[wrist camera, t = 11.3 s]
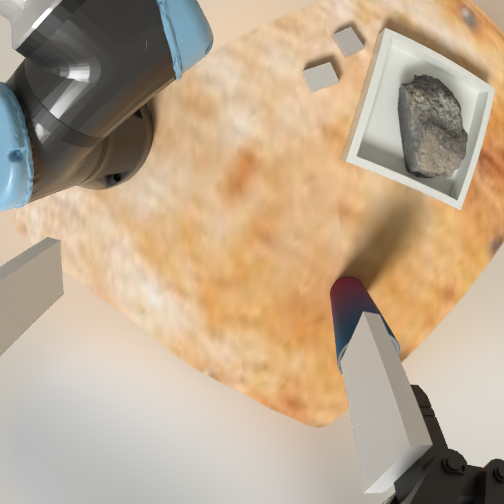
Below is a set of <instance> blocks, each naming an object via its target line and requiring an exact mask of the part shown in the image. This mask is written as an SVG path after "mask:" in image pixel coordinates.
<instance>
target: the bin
mask: <svg viewBox="0 0 504 504" xmlns="http://www.w3.org/2000/svg"><path fill="white" fill-rule="evenodd" d="M423 74H424V75H425V74H426V75H427V76H432V77H433V78H437V79H439V80H441V82H442V83H443V84H444V85H446V86H447V87H448V89H449V90H450V91H451V92H452V93H453V95H454V97H455V98H456V99H457V101H458V102H459V104H460V107H461V115H462V120H463V125H462V126H463V128H464V130H465V131H466V132H467V133H468V141H467V145H466V155H465V158H464V159H463V161H462V162H461V165H460V167H459V169H456V170H455V171H454V172H453V174H452V176H451V177H450V178H444V177H442V176H437V177H436V178H421V177H416V176H415V175H414V174H412V173H408V171H407V168H406V166H405V163H406V162H405V159H404V153H403V147H402V141H401V134H400V128H399V126H400V125H399V118H398V111H397V109H398V101H399V100H398V98H399V88H400V87H401V84H405V83H409V82H411V81H412V80H413V79H414V75H417V76H421V75H423ZM494 92H495V89H494V88H493V87H492V86H490V85H489V84H487V83H486V82H484V81H483V80H481V79H480V78H478V77H477V76H475V75H474V74H472V73H470V72H469V71H467V70H466V69H464V68H462V67H461V66H459V65H458V64H456V63H454V62H452V61H451V60H449V59H447V58H446V57H444V56H442V55H440V54H438V53H437V52H435V51H433V50H431V49H429V48H427V47H425V46H423V45H421V44H419V43H417V42H415V41H413V40H411V39H409V38H407V37H405V36H403V35H401V34H399V33H396V32H394V31H392V30H390V29H387V28H385V29H384V30H383V31H382V32H381V33H380V34H379V35H378V37H377V40H376V44H375V48H374V51H373V55H372V58H371V62H370V65H369V69H368V72H367V76H366V79H365V83H364V86H363V90H362V93H361V96H360V100H359V103H358V106H357V109H356V113H355V116H354V119H353V122H352V125H351V129H350V132H349V135H348V138H347V141H346V144H345V147H344V150H343V153H342V156H341V160H344V161H346V162H349V163H352V164H354V165H357V166H360V167H362V168H365V169H367V170H370V171H372V172H375V173H377V174H380V175H382V176H385V177H387V178H390V179H392V180H395V181H397V182H399V183H402V184H404V185H406V186H409V187H411V188H413V189H416V190H418V191H420V192H422V193H425V194H427V195H429V196H431V197H433V198H436V199H438V200H440V201H442V202H444V203H446V204H448V205H450V206H452V207H454V208H456V209H459V210H461V207H462V205H463V202H464V199H465V197H466V194H467V191H468V188H469V185H470V182H471V179H472V176H473V173H474V170H475V167H476V164H477V160H478V157H479V154H480V150H481V147H482V143H483V139H484V136H485V132H486V128H487V124H488V120H489V116H490V111H491V107H492V102H493V97H494ZM425 131H426V130H425Z"/></svg>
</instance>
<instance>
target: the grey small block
mask: <svg viewBox="0 0 504 504" xmlns="http://www.w3.org/2000/svg"><path fill="white" fill-rule="evenodd" d="M302 76H303V78H304V80H305V82H306V84H307V86H308V88H309V91H310V93H314V92H316V91H319V90H322V89H325V88H328V87H331V86H334V85H337V84H338V83H339V80H338V78H337V76H336V73H335V71H334V69H333V67H332V65H331V63H330V62H328V63H325V64H322V65H319V66H316V67H313V68H310V69H307V70H304V71H302Z"/></svg>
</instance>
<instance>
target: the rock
mask: <svg viewBox="0 0 504 504" xmlns="http://www.w3.org/2000/svg"><path fill="white" fill-rule="evenodd" d="M398 100H399V101H398V109H397V111H398V118H399V125H400V126H399V128H400V134H401V141H402V147H403V153H404V159H405V162H406V163H405V166H406V168H407V171H408V173H412V174H414V175H415V176H416V177H421V178H436V177H437V176H442V177H444V178H450V177H451V176H452V174H453V172H454V171H455V170H456V169H459V167H460V165H461V162H462V161H463V159H464V158H465V155H466V145H467V141H468V133H467V132H466V131H465V130H464V128H463V126H462V125H463V120H462V115H461V107H460V104H459V102H458V101H457V99H456V98H455V97H454V95H453V93H452V92H451V91H450V90H449V89H448V87H447V86H446V85H444V84H443V83H442V82H441V80H439V79H437V78H433V77H432V76H427V75H426V74H425V75H424V74H423V75H421V76H417V75H414V79H413V80H412V81H411V82H409V83H405V84H401V87H400V88H399V98H398ZM425 130H426V131H425Z"/></svg>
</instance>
